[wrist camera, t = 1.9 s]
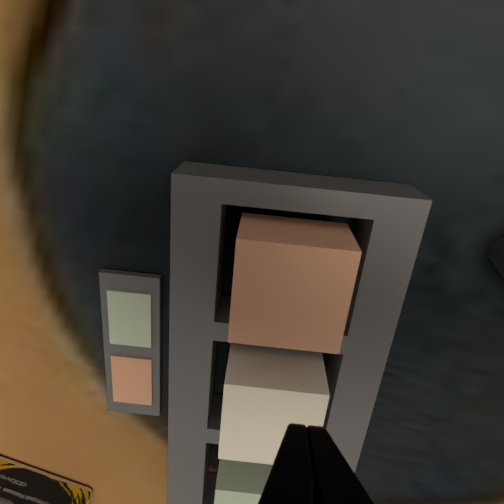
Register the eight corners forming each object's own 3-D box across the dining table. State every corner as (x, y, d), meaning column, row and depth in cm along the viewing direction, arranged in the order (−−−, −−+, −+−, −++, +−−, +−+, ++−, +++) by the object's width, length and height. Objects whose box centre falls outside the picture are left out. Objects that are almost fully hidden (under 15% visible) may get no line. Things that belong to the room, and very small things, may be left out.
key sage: (291, 499, 24) (294, 555, 21) (217, 491, 24) (210, 546, 21) (302, 446, 22) (306, 499, 19) (222, 437, 22) (215, 489, 19)
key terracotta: (329, 313, 18) (338, 354, 16) (234, 303, 18) (227, 342, 16) (347, 223, 17) (361, 252, 14) (242, 212, 17) (235, 238, 14)
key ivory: (308, 418, 21) (313, 469, 18) (225, 408, 21) (217, 458, 18) (321, 350, 19) (329, 395, 16) (231, 340, 19) (223, 384, 16)
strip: (161, 410, 23) (158, 418, 23) (110, 405, 23) (107, 412, 23) (161, 274, 20) (158, 280, 19) (101, 268, 20) (97, 273, 19)
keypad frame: (330, 496, 26) (336, 537, 23) (176, 479, 26) (167, 518, 23) (411, 184, 17) (432, 200, 15) (184, 161, 18) (171, 173, 15)
